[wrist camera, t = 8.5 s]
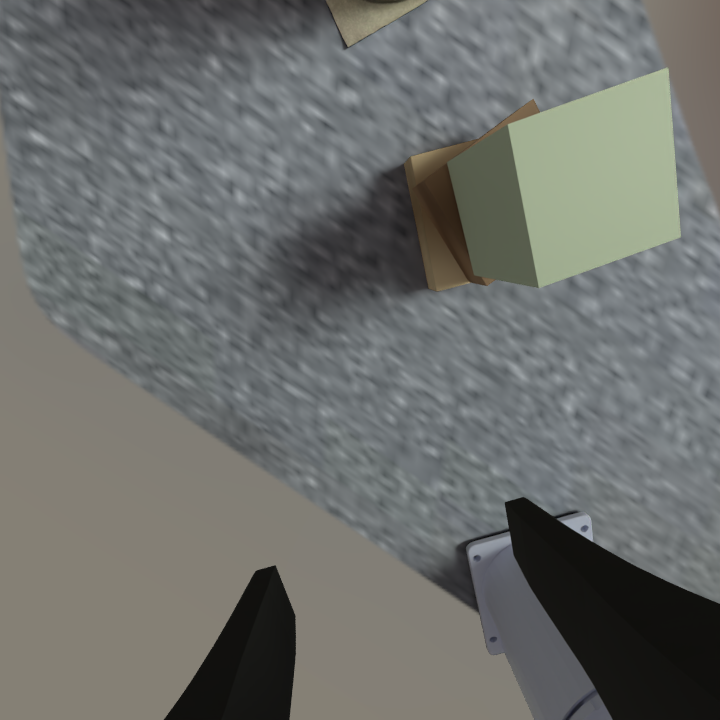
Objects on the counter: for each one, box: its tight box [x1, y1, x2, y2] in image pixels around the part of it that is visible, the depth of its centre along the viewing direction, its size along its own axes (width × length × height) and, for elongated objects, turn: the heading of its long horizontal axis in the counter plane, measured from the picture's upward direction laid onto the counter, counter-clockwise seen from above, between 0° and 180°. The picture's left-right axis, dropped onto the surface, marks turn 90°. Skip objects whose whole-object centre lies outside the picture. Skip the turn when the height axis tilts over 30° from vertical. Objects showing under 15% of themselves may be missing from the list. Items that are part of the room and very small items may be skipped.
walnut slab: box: [412, 99, 540, 286], centre depth 17 cm, size 5×5×2 cm
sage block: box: [447, 68, 681, 288], centre depth 13 cm, size 4×4×5 cm
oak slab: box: [404, 139, 478, 291], centre depth 19 cm, size 6×6×2 cm
